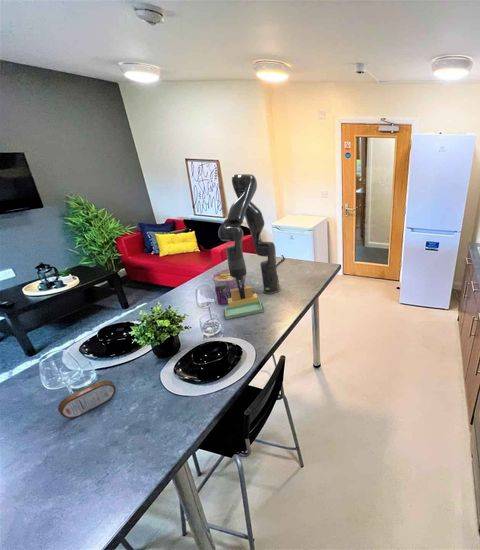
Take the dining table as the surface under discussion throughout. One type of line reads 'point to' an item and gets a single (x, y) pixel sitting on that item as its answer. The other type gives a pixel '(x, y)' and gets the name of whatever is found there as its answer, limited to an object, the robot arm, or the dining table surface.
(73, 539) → the dining table surface
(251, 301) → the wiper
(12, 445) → the dining table surface
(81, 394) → the tin
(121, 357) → the dining table surface
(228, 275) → the bowl of food
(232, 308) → the tray
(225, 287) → the beverage can
